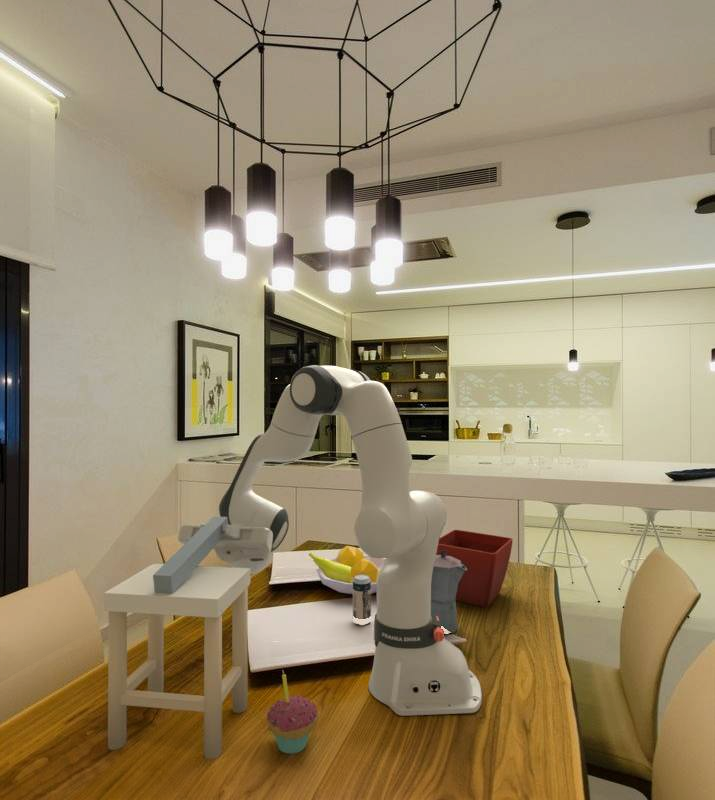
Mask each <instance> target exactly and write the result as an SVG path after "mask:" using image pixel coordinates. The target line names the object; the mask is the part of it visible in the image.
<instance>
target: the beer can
mask: <svg viewBox="0 0 715 800" xmlns="http://www.w3.org/2000/svg"><path fill="white" fill-rule="evenodd" d="M353 616H354V617H355V618H358V619H366V618H369V617H370V616H371V617H372V594H371V580H370V578H369V576H368V575H364V574H362V575H356V576H355V577H354V579H353V594H352V617H353Z"/></svg>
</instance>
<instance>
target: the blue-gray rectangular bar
mask: <svg viewBox="0 0 715 800" xmlns="http://www.w3.org/2000/svg"><path fill="white" fill-rule="evenodd" d="M204 524H205V525H204V526H203V527H202V528H201V529H200V530H199V531H198V532H197V533H196V534H195V535H194V536H193V537H192V538H191V539H190V540H189V541H188V542H187V543H186V544H182V546H181V547H180V548H179V549H177V551H176V552H175V553H174V554H173V555H172V556H171V557H170V558H169V559H168V560H167V561H165V563H163V564H164V565H163V566H162V567H161V568H160V569H159V570H158V571H157V572H156V573H155V574H154V575H153V581H154V591H155V593H166V594H173V593H174V592H175V591H176V590H177V589H178V587H179V586H180V585H181V584H182V583H183V582H184V581H185V580H186V578H187V577H188V576H189V575H190V574H191V573H192V572H193V571H194V569H195V568H196V567H197V566H200V564H201V563H202V562H203V560H205V558H206V557H207V556H208V555H209V554H210V553H211V552H212V550H214V549H213V548H214V547H215V546H216V545H217V543H218V542H219V541H220V540H221V539H222V538H223V537H224V536H225V535H223V534H222V533H221V532H220V531H221V526H222V524H228V517H220V516H212V517H211V518H210V519H209V520H208V521H207V522H206V523H204Z"/></svg>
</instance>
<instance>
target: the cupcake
mask: <svg viewBox="0 0 715 800" xmlns="http://www.w3.org/2000/svg"><path fill="white" fill-rule="evenodd" d="M281 671H282V675H281V678H282V686H283V693H284V694H283V695H284V697H283V698H282V699H280V700H277V701H276V702H273V705H272V706H271V707H270V708H269V709H268V710H269V711H268V712H267V714H266V715H267V716H266V720H267V724H268V730H269V732H271V733H272V734H273V736H274V738H275V741H276V743H277V747H278V749H279V750H280V752H282V753H284V754H297V753H299V752H301V751H303V750H304V749H305V748H306V746H307V744H308V743H307V742H308V739H309V735H310V734H311V733H313V731H314V730H315V728H316V727H317V724H318V720H319V719H318V718H319V712H318V709H317V706H316V704H315V703H314V702H312V701H311V700H310V699H309V698H305V697H304V696H300V695H291V696H289V689H288V681H287V680H288V679H287V674H285V671H284V670H283V669H282V670H281Z"/></svg>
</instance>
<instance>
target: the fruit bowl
mask: <svg viewBox="0 0 715 800" xmlns="http://www.w3.org/2000/svg"><path fill="white" fill-rule="evenodd" d="M308 556H309V557H310V558H311V559H312V561H313V562H314V564H315V565H316V566H317V568H316V569H315V570H316V572H317V575H318V577H319V579H320V581H321V583H322V585H324V586H327V587H328V588H330V589H332V590H334V591H337V592H338V593H343V594H347V595H353V579H354V577H355V576H356V575H362V574H364V575H368V576H369V578H370V580H371V595H372V594H375V593H376V594H377V577H378V574H379V571H380V570H381V568H382V566H383V564H384V561H385V558H373V557H370V556H368V555H364V552H363V551H362V550H361V549H359V548H358V547H355V546H351V545H350V546H349V545H346V546H344V547H343V548H342V549H341V550H339V551H338V553H337V556H336V557H335V558H332V559H326V558H324V557H320V556H315V554H314V553H312V552H310V553H308ZM327 578H330V579H327ZM331 579H333V580H331Z"/></svg>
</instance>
